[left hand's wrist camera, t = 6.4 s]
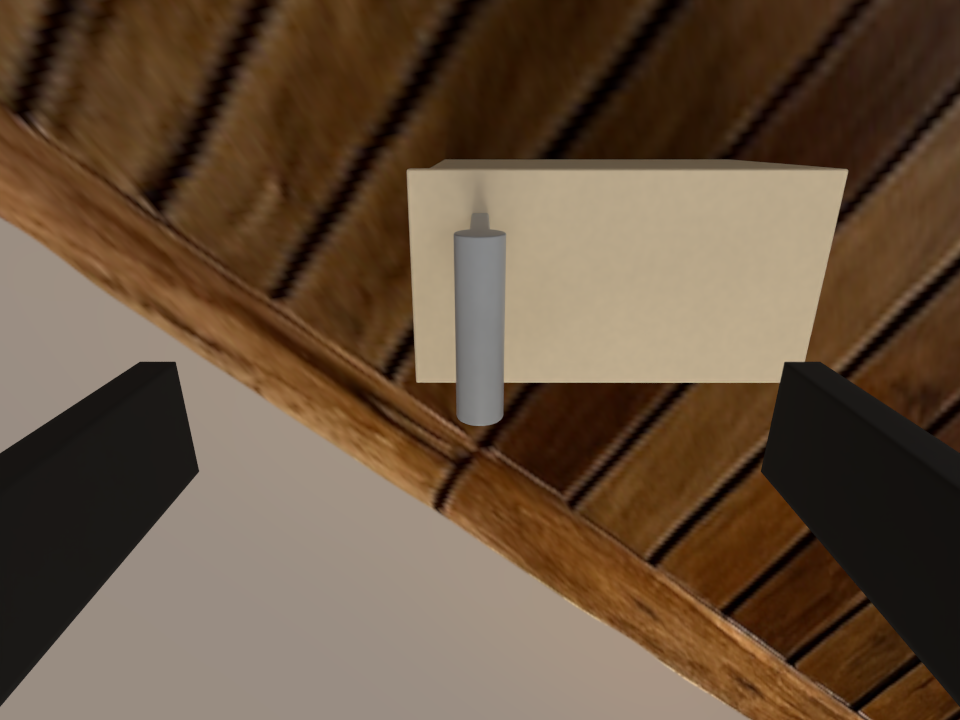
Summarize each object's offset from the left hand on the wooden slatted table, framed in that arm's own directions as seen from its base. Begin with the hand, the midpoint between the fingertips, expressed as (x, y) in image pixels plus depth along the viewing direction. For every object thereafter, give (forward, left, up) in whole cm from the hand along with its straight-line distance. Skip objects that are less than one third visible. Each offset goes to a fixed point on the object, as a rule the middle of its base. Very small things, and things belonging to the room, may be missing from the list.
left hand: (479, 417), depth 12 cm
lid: (-3, +5, -13) cm, 14 cm away
